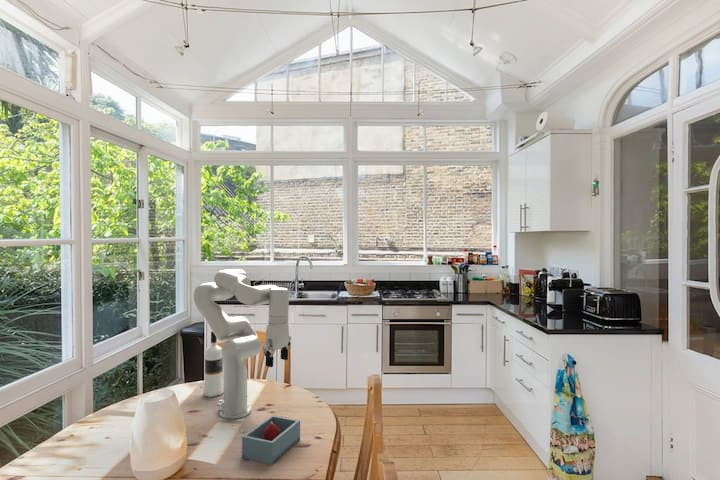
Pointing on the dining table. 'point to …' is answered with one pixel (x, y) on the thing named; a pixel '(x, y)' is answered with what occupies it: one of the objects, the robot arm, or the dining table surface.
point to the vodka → (213, 369)
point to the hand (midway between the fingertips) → (276, 362)
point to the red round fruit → (271, 432)
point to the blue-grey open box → (270, 450)
